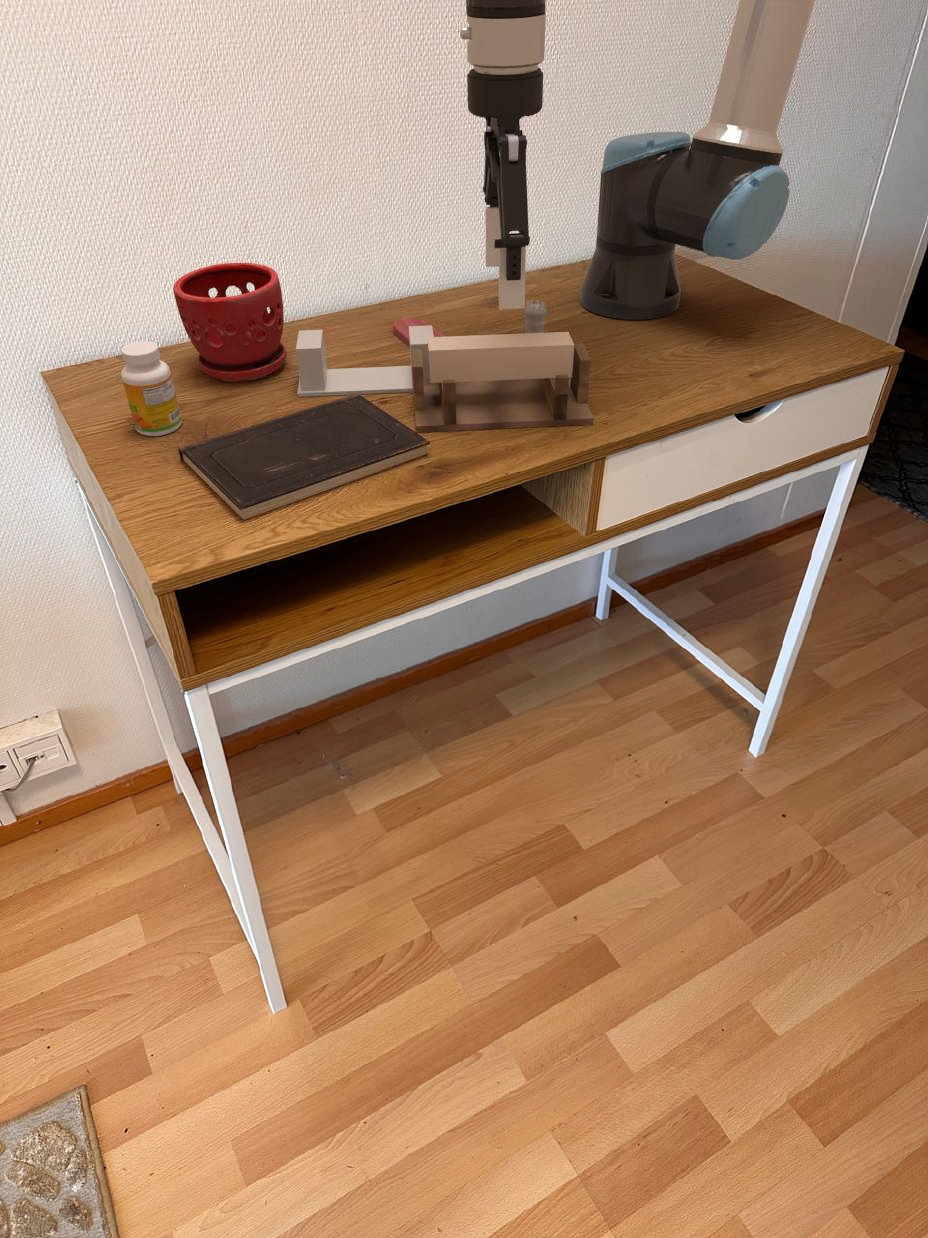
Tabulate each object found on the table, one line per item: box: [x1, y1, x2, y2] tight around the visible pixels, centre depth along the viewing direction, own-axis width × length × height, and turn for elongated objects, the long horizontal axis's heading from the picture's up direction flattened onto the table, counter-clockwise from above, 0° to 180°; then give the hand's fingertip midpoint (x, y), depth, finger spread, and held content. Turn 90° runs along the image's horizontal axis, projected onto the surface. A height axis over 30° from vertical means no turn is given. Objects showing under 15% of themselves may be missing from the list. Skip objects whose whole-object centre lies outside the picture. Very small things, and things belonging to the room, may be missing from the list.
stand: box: [295, 324, 434, 398], centre depth 112 cm, size 18×7×6 cm, turn 95°
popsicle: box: [392, 317, 448, 349], centre depth 123 cm, size 5×2×15 cm
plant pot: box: [172, 262, 287, 382], centre depth 114 cm, size 13×13×12 cm
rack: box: [411, 343, 595, 433], centre depth 107 cm, size 21×13×6 cm, turn 95°
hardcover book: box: [178, 394, 431, 521], centre depth 98 cm, size 16×23×2 cm
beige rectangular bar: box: [427, 331, 575, 383], centre depth 105 cm, size 17×4×4 cm, turn 95°
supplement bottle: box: [120, 340, 182, 437], centre depth 101 cm, size 5×5×10 cm
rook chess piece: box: [522, 299, 549, 334], centre depth 116 cm, size 4×4×8 cm
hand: (504, 285), depth 100 cm, fingers open, 13 cm apart
